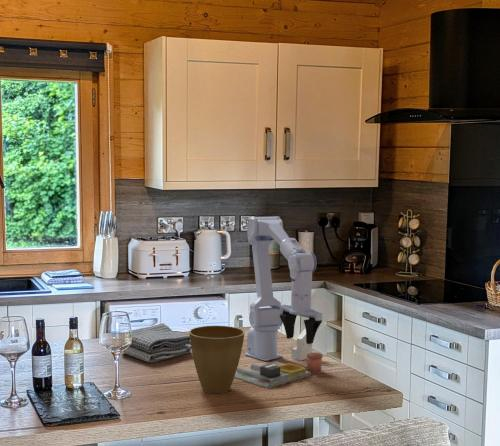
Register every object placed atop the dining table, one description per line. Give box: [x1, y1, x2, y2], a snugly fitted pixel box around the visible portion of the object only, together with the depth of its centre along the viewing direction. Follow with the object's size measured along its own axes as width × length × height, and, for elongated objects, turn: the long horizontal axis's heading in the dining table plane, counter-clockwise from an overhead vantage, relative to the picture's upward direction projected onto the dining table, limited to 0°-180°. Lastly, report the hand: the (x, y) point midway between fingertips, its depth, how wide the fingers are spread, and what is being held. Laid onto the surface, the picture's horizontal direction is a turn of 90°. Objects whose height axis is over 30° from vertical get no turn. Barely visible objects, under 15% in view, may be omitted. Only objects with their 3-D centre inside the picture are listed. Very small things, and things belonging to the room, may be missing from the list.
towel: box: [122, 322, 192, 363], centre depth 237 cm, size 15×18×8 cm
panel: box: [234, 360, 312, 389], centre depth 217 cm, size 14×18×2 cm
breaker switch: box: [260, 363, 280, 378], centre depth 212 cm, size 4×4×3 cm
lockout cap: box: [307, 352, 324, 374], centre depth 223 cm, size 5×5×5 cm
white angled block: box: [291, 328, 313, 361], centre depth 237 cm, size 4×10×9 cm, turn 141°
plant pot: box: [188, 325, 246, 394], centre depth 204 cm, size 15×15×16 cm
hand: (299, 340), depth 217 cm, fingers open, 7 cm apart
